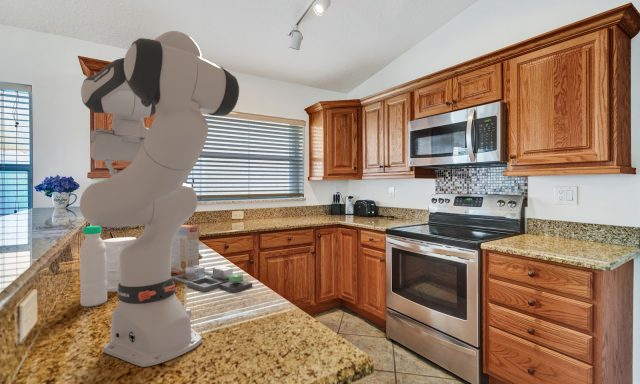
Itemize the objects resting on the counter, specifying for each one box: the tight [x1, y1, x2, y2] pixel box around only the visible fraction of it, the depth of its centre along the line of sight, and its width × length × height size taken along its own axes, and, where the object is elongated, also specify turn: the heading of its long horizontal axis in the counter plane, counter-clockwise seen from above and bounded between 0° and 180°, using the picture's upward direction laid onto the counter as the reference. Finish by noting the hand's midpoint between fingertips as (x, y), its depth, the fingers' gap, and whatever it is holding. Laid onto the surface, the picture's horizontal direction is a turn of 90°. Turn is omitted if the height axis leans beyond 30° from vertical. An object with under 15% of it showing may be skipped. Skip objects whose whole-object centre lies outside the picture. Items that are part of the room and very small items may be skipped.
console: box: [219, 280, 253, 293], centre depth 112 cm, size 8×8×2 cm
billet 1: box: [185, 265, 206, 281], centre depth 125 cm, size 7×4×5 cm, turn 52°
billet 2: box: [212, 265, 234, 281], centre depth 120 cm, size 7×4×5 cm, turn 52°
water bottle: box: [78, 225, 108, 308], centre depth 101 cm, size 7×7×25 cm
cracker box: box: [171, 224, 200, 275], centre depth 135 cm, size 14×6×21 cm, turn 58°
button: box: [229, 273, 244, 285], centre depth 112 cm, size 5×5×4 cm
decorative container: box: [102, 236, 137, 293], centre depth 118 cm, size 12×12×18 cm
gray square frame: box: [172, 270, 213, 285], centre depth 125 cm, size 12×12×2 cm
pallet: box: [186, 275, 229, 293], centre depth 117 cm, size 11×15×3 cm
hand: (130, 175), depth 99 cm, fingers open, 8 cm apart
